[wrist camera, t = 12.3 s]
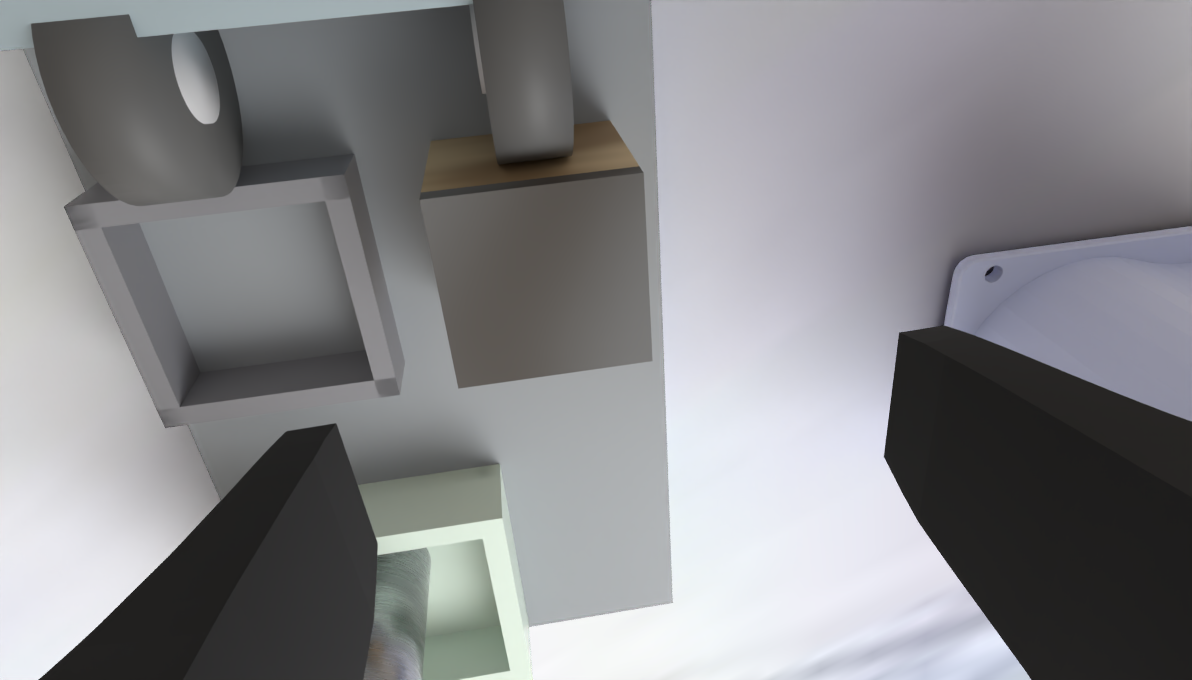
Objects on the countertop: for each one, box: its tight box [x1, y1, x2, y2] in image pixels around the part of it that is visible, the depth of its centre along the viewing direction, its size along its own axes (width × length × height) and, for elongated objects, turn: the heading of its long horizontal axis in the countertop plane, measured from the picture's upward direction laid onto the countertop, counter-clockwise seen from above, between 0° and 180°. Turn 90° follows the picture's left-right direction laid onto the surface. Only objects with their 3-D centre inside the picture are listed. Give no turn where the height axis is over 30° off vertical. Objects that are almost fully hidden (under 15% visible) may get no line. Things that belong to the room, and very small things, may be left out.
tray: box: [358, 464, 533, 680], centre depth 22 cm, size 7×7×2 cm
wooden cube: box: [419, 120, 653, 389], centre depth 16 cm, size 4×4×4 cm
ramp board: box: [23, 0, 673, 627], centre depth 18 cm, size 12×24×3 cm, turn 4°
